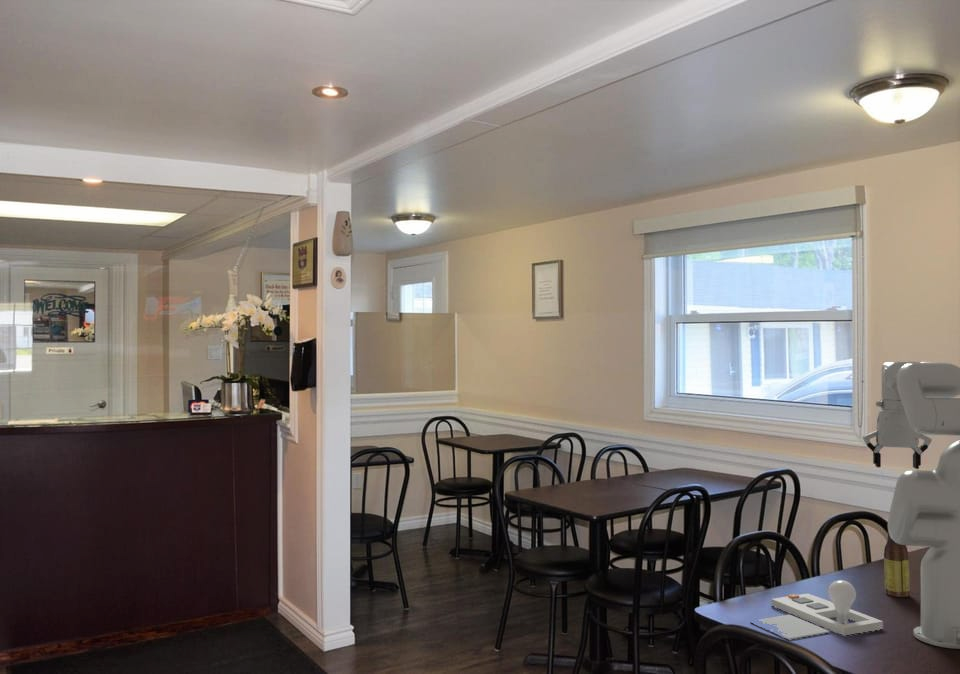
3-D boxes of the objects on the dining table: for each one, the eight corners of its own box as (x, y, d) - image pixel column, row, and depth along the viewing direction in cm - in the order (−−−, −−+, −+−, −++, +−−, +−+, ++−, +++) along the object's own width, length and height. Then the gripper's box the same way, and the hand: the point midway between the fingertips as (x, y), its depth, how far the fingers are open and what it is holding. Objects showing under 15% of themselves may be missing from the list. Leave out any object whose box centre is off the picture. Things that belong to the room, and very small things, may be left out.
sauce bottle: (904, 592, 225) (903, 522, 226) (913, 598, 219) (913, 527, 220) (880, 591, 226) (880, 521, 226) (889, 598, 220) (889, 526, 220)
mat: (829, 633, 192) (829, 631, 192) (788, 640, 187) (788, 638, 187) (789, 616, 204) (789, 614, 204) (750, 622, 199) (750, 620, 199)
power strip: (882, 629, 195) (882, 618, 195) (844, 636, 190) (844, 625, 190) (808, 600, 217) (808, 591, 217) (771, 606, 212) (771, 596, 212)
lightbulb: (832, 618, 203) (832, 575, 203) (859, 623, 199) (859, 580, 199) (825, 624, 198) (825, 580, 198) (852, 630, 194) (852, 585, 194)
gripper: (866, 406, 219) (866, 468, 218) (935, 407, 214) (935, 470, 214) (860, 404, 226) (860, 464, 226) (926, 406, 222) (927, 467, 221)
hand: (896, 467), depth 220 cm, fingers open, 9 cm apart
